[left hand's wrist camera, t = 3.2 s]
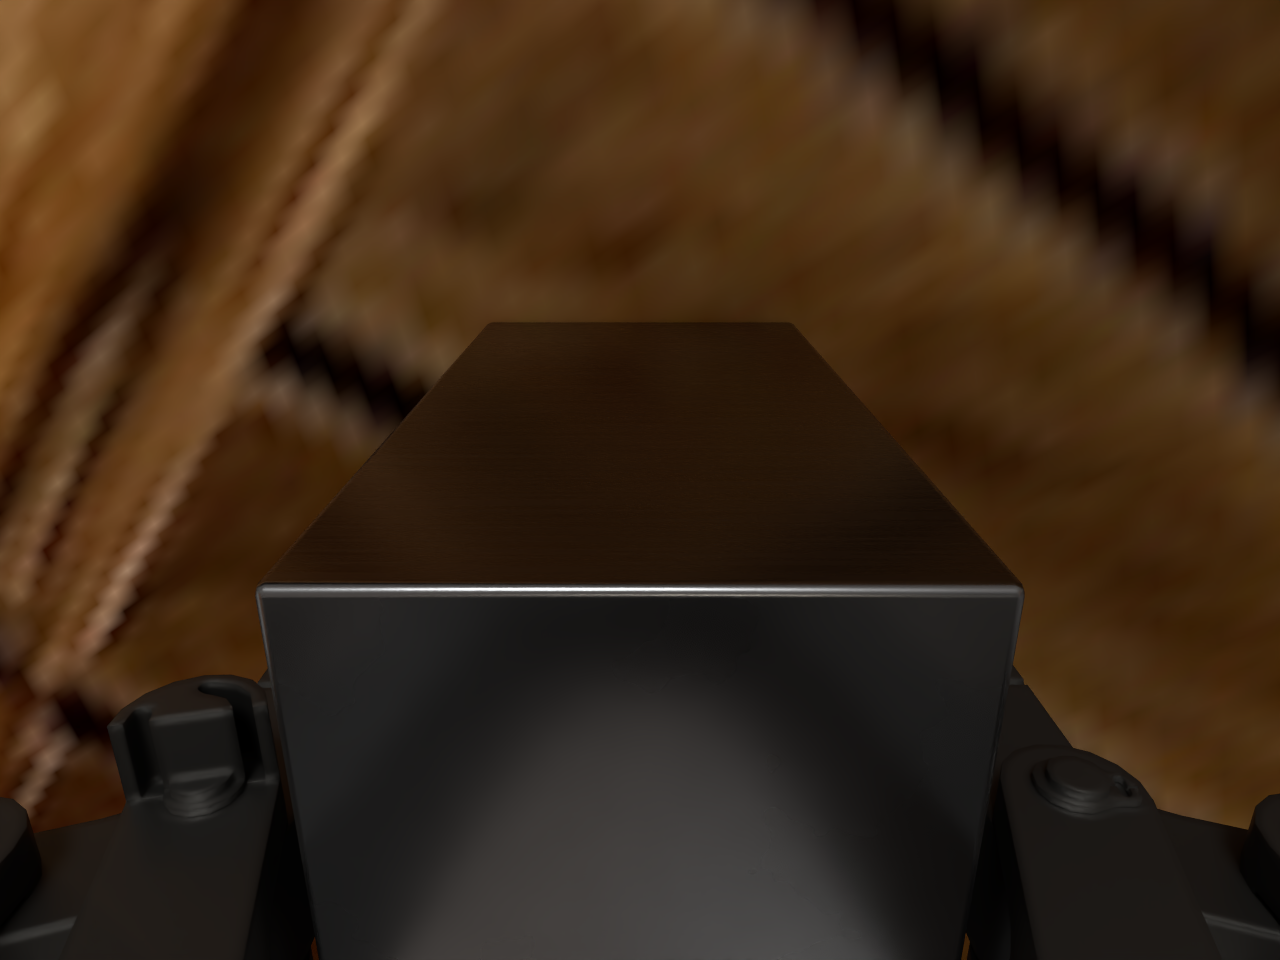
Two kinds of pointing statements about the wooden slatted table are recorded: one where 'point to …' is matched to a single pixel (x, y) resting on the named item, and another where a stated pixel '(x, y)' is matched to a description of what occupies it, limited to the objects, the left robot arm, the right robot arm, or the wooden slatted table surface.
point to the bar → (640, 665)
